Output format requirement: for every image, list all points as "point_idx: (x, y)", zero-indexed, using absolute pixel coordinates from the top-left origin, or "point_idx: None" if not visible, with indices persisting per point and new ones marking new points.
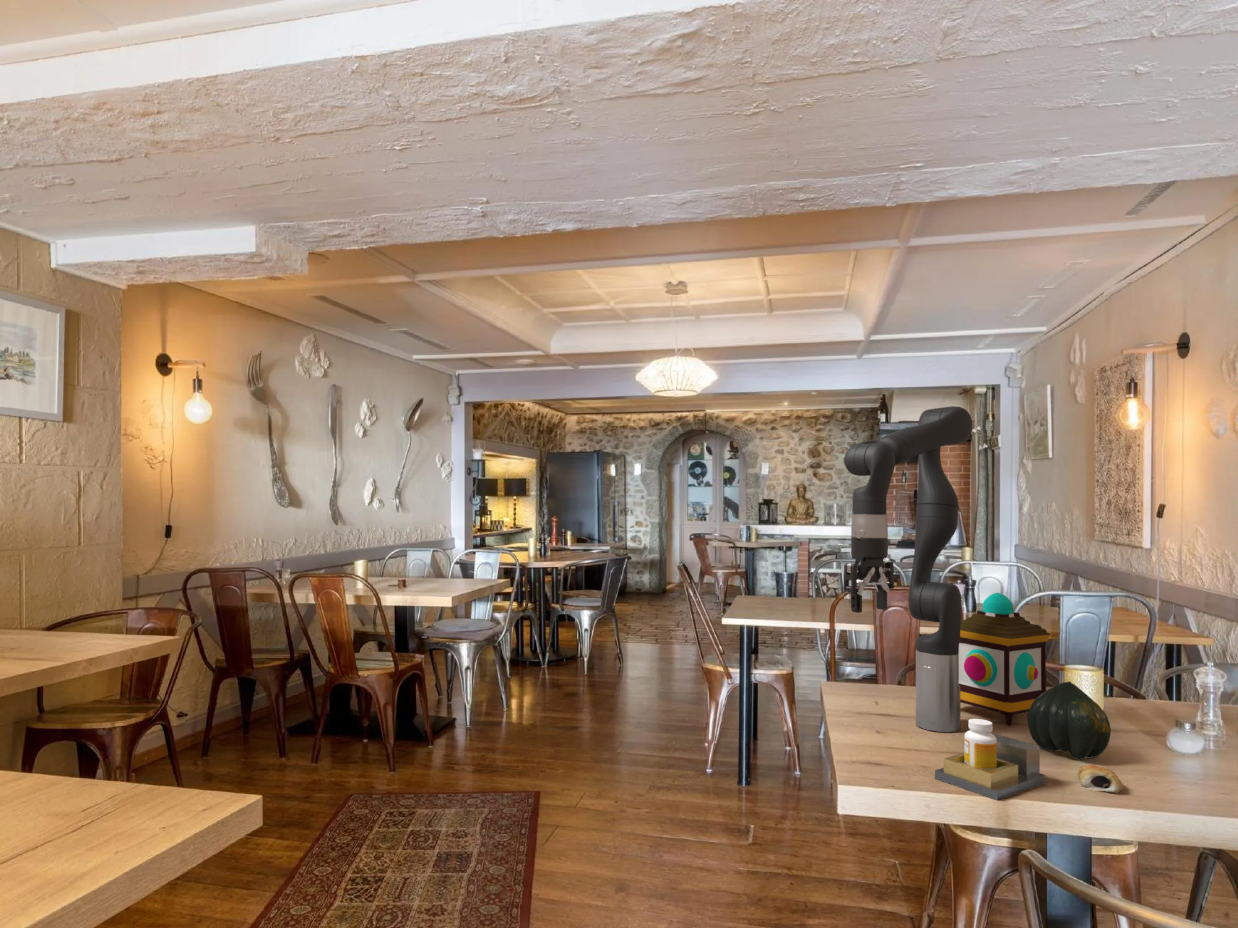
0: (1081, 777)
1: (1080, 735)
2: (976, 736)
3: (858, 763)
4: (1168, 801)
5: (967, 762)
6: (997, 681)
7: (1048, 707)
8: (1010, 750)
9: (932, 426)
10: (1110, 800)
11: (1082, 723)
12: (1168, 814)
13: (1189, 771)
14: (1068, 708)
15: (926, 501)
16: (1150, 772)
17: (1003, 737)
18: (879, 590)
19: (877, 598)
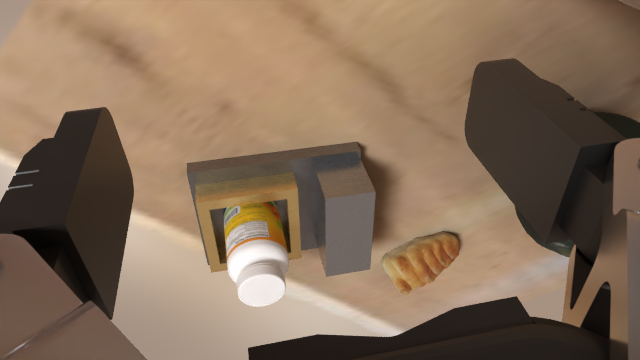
0: (391, 262)
1: (527, 230)
2: (234, 278)
3: (73, 32)
4: (423, 304)
5: (225, 227)
6: None
7: None
8: (323, 248)
9: None
10: (363, 288)
11: (544, 245)
12: (374, 324)
13: None
14: (570, 240)
15: None
16: (535, 245)
17: (364, 223)
18: (590, 192)
19: (526, 120)
